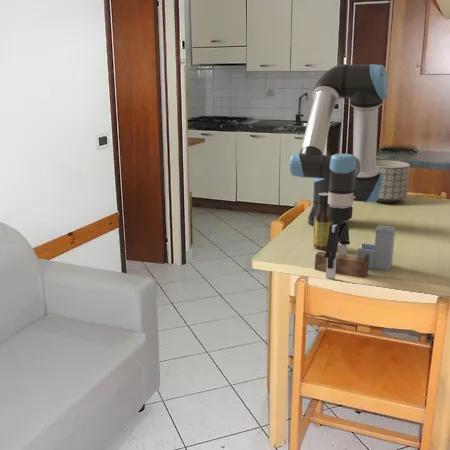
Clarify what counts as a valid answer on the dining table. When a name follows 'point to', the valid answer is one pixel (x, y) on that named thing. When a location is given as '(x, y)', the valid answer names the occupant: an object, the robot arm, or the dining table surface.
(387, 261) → the grey notched block
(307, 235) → the dining table surface
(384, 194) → the planter
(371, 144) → the robot arm
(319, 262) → the rail
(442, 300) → the dining table surface
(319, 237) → the sauce bottle
